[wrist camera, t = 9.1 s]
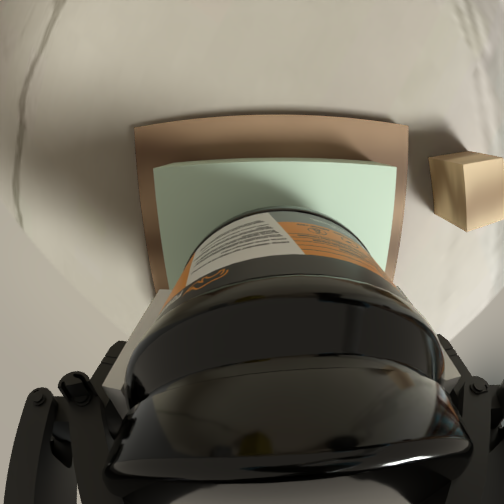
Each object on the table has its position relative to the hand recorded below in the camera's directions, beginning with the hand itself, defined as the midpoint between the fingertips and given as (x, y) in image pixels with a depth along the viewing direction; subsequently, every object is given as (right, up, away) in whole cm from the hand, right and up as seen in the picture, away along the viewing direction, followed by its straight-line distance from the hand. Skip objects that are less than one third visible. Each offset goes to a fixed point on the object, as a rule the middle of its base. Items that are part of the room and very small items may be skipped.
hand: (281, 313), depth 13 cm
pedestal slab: (0, +3, +7) cm, 8 cm away
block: (+16, +9, +6) cm, 20 cm away
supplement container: (0, +1, +2) cm, 2 cm away
